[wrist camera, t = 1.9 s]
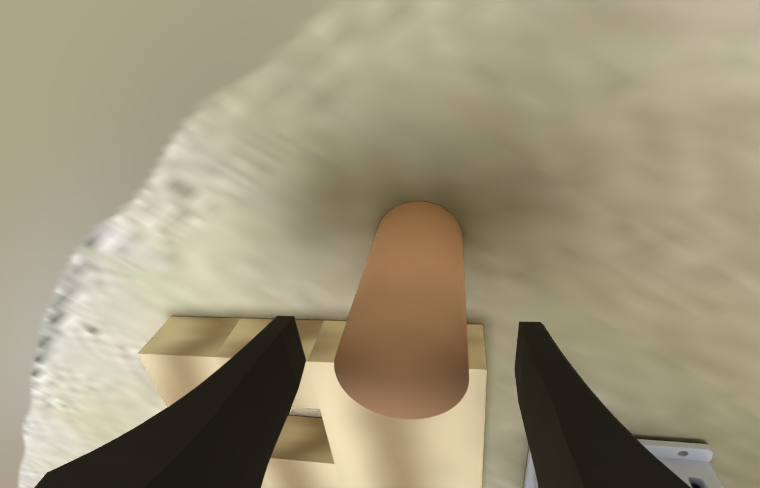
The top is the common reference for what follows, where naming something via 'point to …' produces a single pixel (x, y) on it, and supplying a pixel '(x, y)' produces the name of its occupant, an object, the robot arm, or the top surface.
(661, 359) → the top surface
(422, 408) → the peg
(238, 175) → the top surface
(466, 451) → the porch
